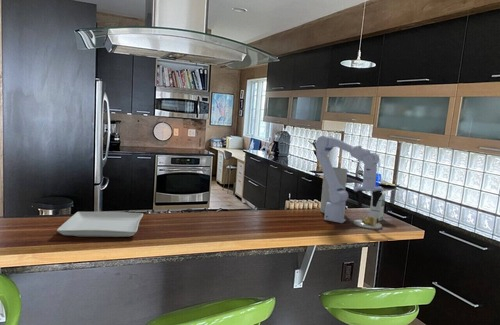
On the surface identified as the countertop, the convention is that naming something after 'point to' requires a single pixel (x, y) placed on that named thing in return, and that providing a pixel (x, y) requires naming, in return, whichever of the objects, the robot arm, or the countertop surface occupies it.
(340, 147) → the robot arm
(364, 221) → the gold lugged disc
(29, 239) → the countertop surface
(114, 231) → the square plate
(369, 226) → the cap plate
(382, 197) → the syrup box
